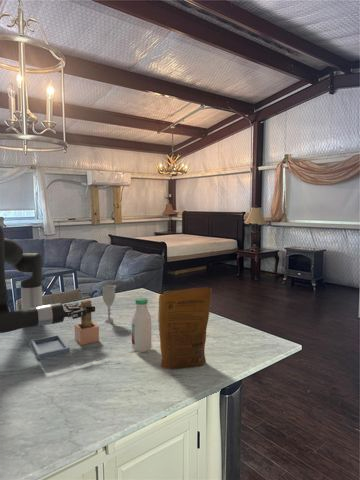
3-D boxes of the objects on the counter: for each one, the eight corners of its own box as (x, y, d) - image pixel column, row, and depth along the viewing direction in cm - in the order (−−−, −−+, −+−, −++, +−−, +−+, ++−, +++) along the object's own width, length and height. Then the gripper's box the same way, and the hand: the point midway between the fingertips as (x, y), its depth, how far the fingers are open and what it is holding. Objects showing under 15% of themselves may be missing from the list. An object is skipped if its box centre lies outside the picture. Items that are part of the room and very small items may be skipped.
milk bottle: (154, 346, 131) (154, 297, 129) (146, 354, 124) (146, 302, 122) (137, 343, 134) (137, 295, 132) (128, 351, 127) (127, 300, 125)
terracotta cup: (74, 340, 136) (74, 324, 135) (92, 337, 140) (92, 321, 140) (80, 347, 130) (80, 330, 129) (99, 343, 134) (98, 326, 133)
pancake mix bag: (213, 368, 113) (214, 288, 111) (158, 373, 110) (158, 291, 107) (207, 359, 120) (209, 284, 118) (156, 363, 116) (156, 286, 114)
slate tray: (30, 346, 130) (30, 339, 130) (59, 340, 137) (59, 334, 136) (38, 361, 117) (38, 354, 117) (70, 354, 123) (69, 347, 123)
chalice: (112, 326, 153) (112, 288, 151) (99, 325, 154) (98, 288, 153) (118, 321, 160) (118, 285, 158) (105, 320, 161) (105, 284, 160)
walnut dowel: (80, 336, 135) (79, 300, 134) (90, 334, 138) (89, 299, 136) (83, 339, 132) (82, 303, 131) (93, 337, 134) (92, 301, 133)
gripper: (53, 309, 120) (99, 302, 129) (45, 300, 131) (87, 294, 141) (54, 329, 120) (99, 321, 130) (45, 318, 132) (87, 311, 142)
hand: (92, 307), depth 135 cm, fingers closed on walnut dowel, 4 cm apart
